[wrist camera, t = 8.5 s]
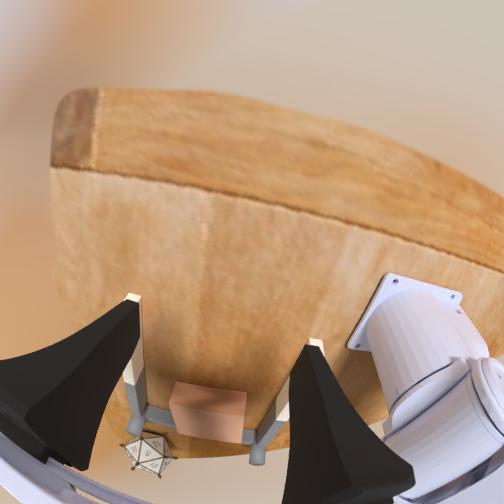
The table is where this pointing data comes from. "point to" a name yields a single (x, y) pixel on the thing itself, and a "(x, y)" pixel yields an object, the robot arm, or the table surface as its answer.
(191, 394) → the sliding block
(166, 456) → the game die
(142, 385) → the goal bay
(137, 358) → the lane walls
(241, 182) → the table surface
